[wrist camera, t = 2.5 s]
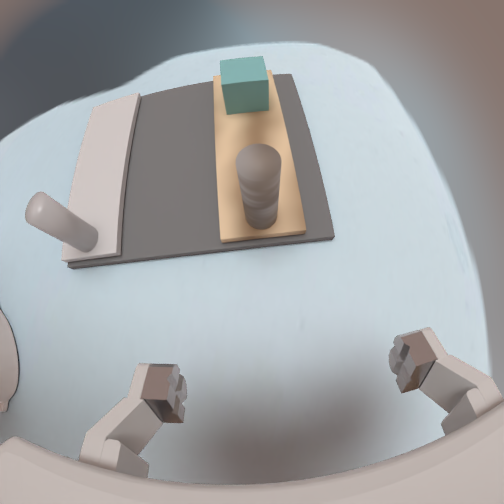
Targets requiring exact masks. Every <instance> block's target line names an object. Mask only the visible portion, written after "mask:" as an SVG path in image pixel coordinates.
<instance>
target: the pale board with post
mask: <svg viewBox="0 0 504 504" xmlns="http://www.w3.org/2000/svg"><path fill="white" fill-rule="evenodd" d="M140 100H141V96H140V94H139V93H135V94H132V95H129V96H125V97H122V98H119V99H116V100H113V101H110V102H107V103H104V104H102V105H99V106H96V107H93V110H92V113H91V116H90V119H89V122H88V125H87V128H86V131H85V135H84V138H83V141H82V145H81V149H80V152H79V156H78V160H77V164H76V168H75V173H74V177H73V182H72V187H71V192H70V197H69V203H68V209H67V208H65V207H64V206H62V205H61V204H59V203H58V202H57V201H55V200H54V199H52V198H51V197H50V196H48V195H47V194H45V193H44V192H38V193H36V194H35V195H34V196H33V197H32V198H31V200H30V201H29V203H28V205H27V208H26V212H25V219H26V221H27V223H29V224H30V225H32V226H34V227H36V228H38V229H40V230H41V231H43V232H45V233H47V234H49V235H51V236H53V237H55V238H57V239H59V240H60V241H62V242H63V247H62V259H61V260H62V261H64V262H73V261H80V260H88V259H95V258H103V257H110V256H118V255H121V235H122V220H123V207H124V197H125V187H126V179H127V171H128V164H129V157H130V151H131V145H132V139H133V133H134V128H135V123H136V118H137V113H138V109H139V104H140Z"/></svg>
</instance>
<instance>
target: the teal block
mask: <svg viewBox="0 0 504 504" xmlns="http://www.w3.org/2000/svg"><path fill="white" fill-rule="evenodd" d="M220 71H221V86H222V92H223V97H224V103H225V108H226V113H227V115H230V114H238V113H247V112H257V111H269V79H268V75H267V71H266V67H265V63H264V59H263V56H259V57H247V58H237V59H229V60H221V61H220Z"/></svg>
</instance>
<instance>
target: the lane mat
mask: <svg viewBox="0 0 504 504" xmlns="http://www.w3.org/2000/svg"><path fill="white" fill-rule="evenodd" d="M273 79H274V83H275V86H276V90H277V94H278V98H279V102H280V106H281V110H282V114H283V118H284V122H285V127H286V131H287V135H288V140H289V144H290V149H291V153H292V158H293V162H294V167H295V172H296V177H297V182H298V187H299V192H300V197H301V203H302V208H303V213H304V219H305V225H306V233H305V234H297V235H287V236H278V237H269V238H260V239H251V240H242V241H233V242H225V243H222V241H221V239H220V224H219V208H218V191H217V172H216V150H215V124H214V89H213V81H210V82H204V83H198V84H193V85H188V86H183V87H178V88H173V89H169V90H165V91H160V92H156V93H152V94H149V95H145V96H141V100H140V104H139V109H138V113H137V118H136V123H135V128H134V133H133V139H132V145H131V151H130V157H129V164H128V171H127V179H126V187H125V197H124V207H123V220H122V235H121V255H118V256H110V257H103V258H95V259H88V260H80V261H73V262H68V267H69V268H71V269H76V268H85V267H93V266H102V265H110V264H119V263H127V262H136V261H145V260H153V259H162V258H171V257H180V256H188V255H197V254H206V253H215V252H224V251H233V250H242V249H251V248H260V247H269V246H278V245H287V244H296V243H305V242H314V241H323V240H332V239H333V238H334V237H335V235H334V230H333V225H332V220H331V215H330V210H329V206H328V201H327V197H326V193H325V188H324V184H323V180H322V176H321V172H320V168H319V164H318V160H317V156H316V153H315V149H314V145H313V142H312V138H311V135H310V131H309V128H308V124H307V121H306V117H305V114H304V111H303V108H302V105H301V101H300V98H299V95H298V92H297V89H296V86H295V83H294V80H293V77H292V74H277V75H273Z"/></svg>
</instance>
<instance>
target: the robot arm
mask: <svg viewBox="0 0 504 504" xmlns="http://www.w3.org/2000/svg"><path fill="white" fill-rule="evenodd" d="M393 343H394V345H395V346H394V347H393V348H392V349H391V350H390V353H389V365H390V368H391V371H392V372H393V373H394V374H396V375H397V378H396V382H397V385H398V387H399V389H400V392H401V394H402V393H405V392H408V391H411V390H415V389H418V388H419V389H420V390H421V391H422V392H423V393H424V394H426V395H427V396H428V397H429V398H431V399H432V400H433V401H434V402H436V403H437V404H438V405H439V406H441V407H442V408H443V409H444V410H445V411H447V412H448V413H449V414H448V415H447V416H446V417H445V418H444V420H443V421H442V423H441V426H442V428H443V431H444V433H445V436H443V437H441V438H439V439H437V440H435V441H433V442H430V443H428V444H426V445H424V446H421V447H419V448H416V449H414V450H411V451H409V452H406V453H404V454H401V455H398V456H395V457H392V458H389V459H386V460H383V461H380V462H377V463H374V464H370V465H367V466H363V467H360V468H356V469H352V470H348V471H344V472H340V473H335V474H330V475H325V476H320V477H314V478H308V479H302V480H294V481H286V482H277V483H265V484H245V485H213V484H194V483H182V482H172V481H164V480H157V479H150V478H147V476H148V468H149V465H148V463H147V462H146V461H144V460H143V459H141V458H140V457H139V456H138V454H139V453H140V452H141V451H142V449H143V448H144V447H145V446H146V444H147V443H148V442H149V441H150V439H151V438H152V437H153V436H154V434H155V433H156V432H157V430H158V429H159V428H160V427H161V425H162V424H163V423H162V422H164V423H183V422H184V414H185V407H184V406H183V404H182V403H183V402H184V401H185V400H186V398H187V384H186V381H185V378H184V376H182V375H180V374H179V373H180V368H179V367H178V365H177V364H149V363H139V364H138V365H137V367H136V369H135V373H134V376H133V379H132V383H131V386H130V390H129V393H128V397H127V398H123V399H122V400H121V401H120V402H119V403H118V404H117V405H116V406H114V407H113V408H112V409H111V410H110V411H109V412H108V413H107V414H106V415H105V416H104V417H103V418H102V419H100V420H99V421H98V422H97V423H96V424H95V425H94V426H93V427H92V428H91V429H90V430H88V431H87V432H86V435H85V438H84V442H83V445H82V449H81V453H80V456H79V460H78V461H77V460H74V459H71V458H68V457H65V456H63V455H60V454H57V453H55V452H52V451H50V450H47V449H45V448H42V447H40V446H38V445H36V444H33V443H31V442H29V441H27V440H25V439H23V438H21V437H18V436H13V437H11V438H9V439H8V440H6V441H5V442H3V443H2V444H1V445H0V504H504V399H503V397H502V395H501V394H500V392H499V390H498V388H497V386H496V385H495V383H494V381H493V379H492V378H491V377H490V376H488V375H486V374H484V373H483V372H481V371H479V370H477V369H475V368H474V367H472V366H470V365H468V364H467V363H465V362H463V361H461V360H460V359H458V358H456V357H454V356H453V355H449V356H448V354H447V352H446V351H445V349H444V348H443V346H442V344H441V343H440V341H439V340H438V338H437V336H436V335H435V333H434V332H433V330H432V329H431V328H430V327H427V328H424V329H420V330H416V331H412V332H409V333H405V334H401V335H398V336H396V337H395V339H394V342H393ZM17 383H18V357H17V350H16V345H15V341H14V337H13V333H12V330H11V328H10V325H9V323H8V321H7V319H6V318H5V316H4V315H3V313H2V311H1V310H0V411H7V407H8V401H9V399H10V398H11V397H12V396H13V394H14V393H15V390H16V387H17Z"/></svg>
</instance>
